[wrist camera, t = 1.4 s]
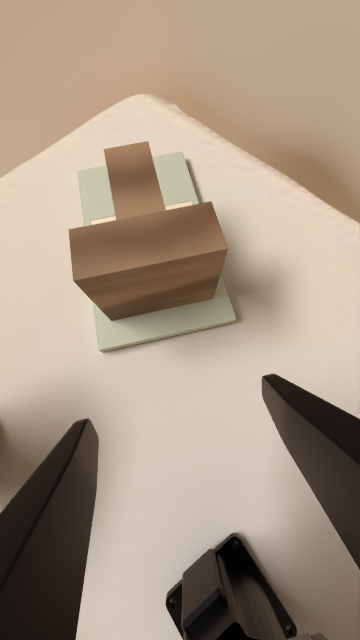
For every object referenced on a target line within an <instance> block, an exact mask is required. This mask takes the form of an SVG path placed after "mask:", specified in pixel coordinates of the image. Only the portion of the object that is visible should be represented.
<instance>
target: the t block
mask: <svg viewBox="0 0 360 640" xmlns="http://www.w3.org/2000/svg"><path fill="white" fill-rule="evenodd" d="M104 153H105V159H106V165H107V170H108V176H109V182H110V188H111V194H112V199H113V205H114V211H115V217H116V220H114V221H109V222H104V223H99V224H94V225H89V226H84V227H79V228H74V229H69V238H70V249H71V260H72V271H73V281H74V282H75V283H76V284H77V285H78V286H79V287H80V288H81V289H82V290H83V292H84V293H85V294H86V295H87V296H88V297H89V298H90V299H91V300H92V301H93V302H94V303H95V304H96V305H97V306H98V308H99V309H100V310H101V311H102V312H103V313H104V314H105V315H106V316H107V317H108V318H109V319H110V320H111V321H114V320H119V319H123V318H128V317H132V316H137V315H142V314H146V313H151V312H155V311H160V310H164V309H169V308H173V307H178V306H183V305H187V304H192V303H196V302H201V301H205V300H210V299H214V296H215V292H216V289H217V285H218V281H219V278H220V274H221V271H222V267H223V263H224V260H225V256H226V253H227V249H228V248H227V245H226V242H225V240H224V237H223V234H222V231H221V228H220V225H219V222H218V219H217V216H216V213H215V210H214V208H213V205H212V202H206V203H201V204H196V205H191V206H185V207H180V208H175V209H170V210H166V208H165V205H164V201H163V197H162V193H161V189H160V185H159V182H158V178H157V174H156V170H155V166H154V163H153V159H152V155H151V151H150V147H149V143H148V141H147V142H141V143H136V144H130V145H125V146H119V147H114V148H108V149H104Z"/></svg>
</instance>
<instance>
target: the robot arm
mask: <svg viewBox="0 0 360 640" xmlns="http://www.w3.org/2000/svg"><path fill="white" fill-rule="evenodd" d="M262 396H263V400H264V402H265V404H266V406H267V408H268V411H269V413H270V415H271V417H272V419H273V421H274V423H275V425H276V428H277V430H278V432H279V434H280V436H281V438H282V440H283V442H284V444H285V446H286V448H287V449H288V451H289V453H290V454H291V456H292V458H293V459H294V461H295V463H296V464H297V466H298V468H299V469H300V471H301V473H302V474H303V476H304V478H305V479H306V481H307V483H308V484H309V486H310V488H311V489H312V491H313V493H314V494H315V496H316V498H317V499H318V501H319V503H320V504H321V506H322V508H323V509H324V511H325V513H326V514H327V516H328V518H329V519H330V521H331V523H332V524H333V526H334V527H335V529H336V531H337V532H338V534H339V536H340V537H341V539H342V541H343V542H344V544H345V546H346V547H347V549H348V551H349V552H350V554H351V556H352V557H353V559H354V561H355V562H356V564H357V566H358V567H359V569H360V419H359V418H357V417H355V416H353V415H351V414H349V413H347V412H346V411H344V410H342V409H340V408H338V407H336V406H334V405H332V404H331V403H329V402H327V401H325V400H323V399H321V398H319V397H317V396H315V395H314V394H312V393H310V392H308V391H306V390H304V389H302V388H300V387H299V386H297V385H295V384H293V383H291V382H289V381H287V380H285V379H284V378H282V377H280V376H278V375H276V374H269V375H265V376H263V377H262ZM98 444H99V440H98V435H97V433H96V431H95V429H94V426H93V424H92V422H91V421H90V420H89V419H83V420H79V421H76V422H75V423H74V424H73V425H72V426H71V428H70V429H69V430H68V431H67V432H66V434H65V435H64V436H63V437H62V439H61V440H60V441H59V442H58V443H57V445H56V446H55V447H54V448H53V450H52V451H51V452H50V453H49V455H48V456H47V457H46V458H45V459H44V461H43V462H42V463H41V464H40V466H39V467H38V468H37V469H36V470H35V472H34V473H33V474H32V475H31V477H30V478H29V479H28V480H27V482H26V483H25V484H24V485H23V486H22V488H21V489H20V490H19V491H18V493H17V494H16V495H15V496H14V497H13V499H12V500H11V501H10V502H9V504H8V505H7V506H6V507H5V508H4V510H3V511H2V512H1V513H0V640H75V639H76V632H77V625H78V618H79V611H80V604H81V597H82V590H83V583H84V576H85V569H86V562H87V555H88V548H89V541H90V534H91V527H92V520H93V513H94V506H95V499H96V489H97V469H98ZM233 541H237V542H238V543H237V545H236V546H232V542H233ZM172 598H174V599H176V603H171V602H170V600H171V599H172ZM166 607H167V610H168V612H169V613H170V615H171V617H172V619H173V621H174V623H175V625H176V627H177V629H178V631H179V633H180V635H181V636H182V638H183V640H327V639H326V638H325V637H324V636H323V635H322V634H321V633H318V634H315V635H312V636H310V635H309V634H308V633H307V634H303V635H300V636H297V637H296V635H297V629H296V626H295V624H294V622H293V620H292V618H291V617H290V615H289V613H288V612H287V610H286V609H285V607H284V606H283V604H282V603H281V601H280V599H279V598H278V596H277V595H276V593H275V592H274V590H273V589H272V587H271V585H270V584H269V582H268V581H267V579H266V578H265V576H264V575H263V573H262V571H261V570H260V568H259V567H258V565H257V564H256V562H255V561H254V559H253V558H252V556H251V554H250V553H249V551H248V550H247V548H246V547H245V545H244V544H243V542H242V540H241V539H240V537H239V536H238V535H237V534H231V535H229V536H228V537H227V538H226V539H225V540H224V541H223V542H222V543H221V544H219V545H218V546H217V547H216V548H215V549H209V550H208V551H207V552H206V553H205V554H204V555H202V556H201V557H200V558H199V559H198V560H197V561H196V562H195V563H194V564H193V565H192V566H190V567H189V568H188V569H187V570H186V571H185V572H184V573H183V579H182V580H180V581H179V582H178V583H177V584H176V585H175V586H174V587H173V588H172V589H171V590H170V591H169V592H168V593H167V596H166ZM287 625H290V626H291V627H290V629H289V630H286V629H285V628H286V626H287Z"/></svg>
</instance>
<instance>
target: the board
mask: <svg viewBox="0 0 360 640" xmlns="http://www.w3.org/2000/svg"><path fill="white" fill-rule="evenodd" d="M152 159H153V163H154V166H155V170H156V174H157V178H158V182H159V185H160V189H161V193H162V197H163V201H164V205H165V208H166V210H170V209H175V208H180V207H185V206H191V205H196V204H199V202H198V199H197V196H196V193H195V190H194V186H193V183H192V180H191V177H190V174H189V171H188V168H187V165H186V162H185V159H184V155H183V152H177V153H172V154H166V155H161V156H156V157H152ZM78 180H79V188H80V197H81V205H82V214H83V222H84V226H89V225H94V224H99V223H104V222H109V221H114V220H116V217H115V211H114V205H113V199H112V194H111V188H110V182H109V176H108V170H107V166H101V167H96V168H91V169H85V170H80V171H78ZM93 308H94V317H95V325H96V334H97V342H98V350H99V351H101V352H105V351H110V350H114V349H118V348H123V347H127V346H132V345H136V344H141V343H145V342H149V341H154V340H158V339H163V338H167V337H172V336H176V335H181V334H185V333H189V332H194V331H198V330H203V329H207V328H212V327H216V326H221V325H225V324H229V323H234V322H235V320H236V317H235V314H234V311H233V308H232V305H231V301H230V298H229V295H228V292H227V289H226V286H225V283H224V280H223V277H222V274H220V278H219V281H218V285H217V289H216V292H215V296H214V299H210V300H205V301H201V302H196V303H192V304H187V305H183V306H178V307H173V308H169V309H164V310H160V311H155V312H151V313H146V314H142V315H137V316H132V317H128V318H123V319H119V320H114V321H111V320H110V319H109V318H108V317H107V316H106V315H105V314H104V313H103V312H102V311H101V310H100V309H99V308H98V306H97V305H96V304H95V303H94V302H93Z"/></svg>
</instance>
